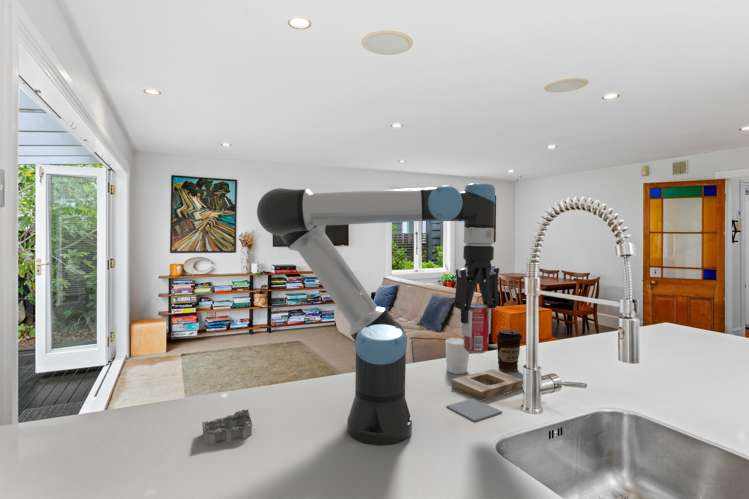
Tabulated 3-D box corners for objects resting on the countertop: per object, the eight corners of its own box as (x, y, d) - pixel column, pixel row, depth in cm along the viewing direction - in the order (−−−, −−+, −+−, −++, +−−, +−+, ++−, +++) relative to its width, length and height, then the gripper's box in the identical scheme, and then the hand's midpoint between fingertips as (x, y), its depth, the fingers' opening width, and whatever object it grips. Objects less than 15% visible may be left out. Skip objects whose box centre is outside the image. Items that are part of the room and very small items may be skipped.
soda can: (463, 353, 108) (464, 306, 108) (463, 346, 115) (464, 302, 114) (489, 355, 107) (490, 307, 107) (487, 348, 113) (488, 303, 113)
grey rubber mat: (474, 421, 105) (474, 420, 105) (446, 407, 113) (446, 405, 113) (502, 412, 110) (502, 411, 110) (473, 399, 119) (473, 398, 119)
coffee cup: (524, 374, 140) (526, 335, 139) (499, 373, 140) (500, 334, 140) (516, 365, 149) (517, 328, 148) (492, 365, 149) (493, 328, 148)
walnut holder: (480, 400, 118) (480, 391, 118) (451, 387, 127) (451, 379, 127) (523, 388, 128) (523, 380, 128) (493, 376, 137) (493, 369, 137)
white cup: (462, 376, 137) (463, 345, 137) (440, 371, 142) (441, 341, 141) (472, 370, 143) (473, 340, 143) (451, 365, 148) (452, 336, 148)
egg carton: (250, 425, 102) (250, 408, 102) (253, 439, 95) (253, 421, 95) (202, 431, 98) (202, 414, 98) (201, 447, 91) (201, 428, 91)
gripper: (462, 245, 101) (459, 342, 102) (515, 245, 112) (512, 332, 113) (440, 244, 107) (438, 335, 109) (493, 243, 118) (490, 326, 119)
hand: (476, 333), depth 111 cm, fingers closed on soda can, 6 cm apart
